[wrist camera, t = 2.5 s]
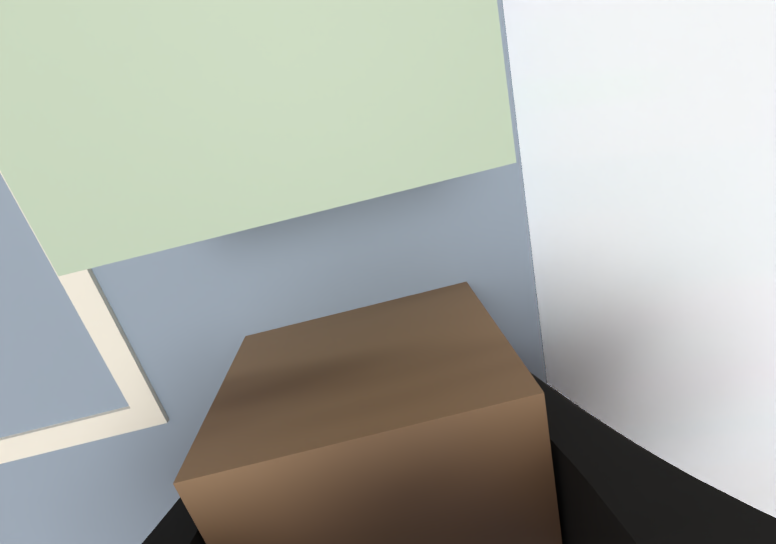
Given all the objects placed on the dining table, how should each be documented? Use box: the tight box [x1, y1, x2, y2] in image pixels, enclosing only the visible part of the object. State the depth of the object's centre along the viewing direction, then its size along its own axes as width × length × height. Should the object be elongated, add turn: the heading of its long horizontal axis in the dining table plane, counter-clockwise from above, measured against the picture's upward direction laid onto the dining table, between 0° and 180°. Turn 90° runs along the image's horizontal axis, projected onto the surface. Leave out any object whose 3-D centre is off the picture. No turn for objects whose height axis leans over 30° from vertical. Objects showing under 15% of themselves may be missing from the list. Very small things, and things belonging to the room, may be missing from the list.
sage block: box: [0, 0, 516, 276], centre depth 5 cm, size 5×5×4 cm
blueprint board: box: [0, 0, 547, 544], centre depth 9 cm, size 20×18×1 cm
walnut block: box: [173, 282, 562, 544], centre depth 8 cm, size 5×5×4 cm
